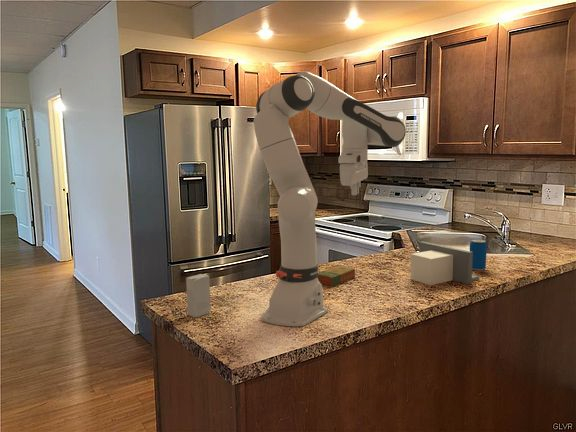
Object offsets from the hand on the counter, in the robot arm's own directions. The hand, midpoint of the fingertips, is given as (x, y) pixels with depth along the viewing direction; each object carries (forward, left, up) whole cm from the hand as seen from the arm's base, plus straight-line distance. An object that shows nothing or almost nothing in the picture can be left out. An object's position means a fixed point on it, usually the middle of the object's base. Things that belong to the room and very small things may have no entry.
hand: (355, 194), depth 167 cm
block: (+18, -25, -34) cm, 46 cm away
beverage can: (+41, -41, -34) cm, 67 cm away
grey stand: (+27, -31, -34) cm, 53 cm away
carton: (+4, +9, -34) cm, 36 cm away
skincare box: (-47, +36, -34) cm, 68 cm away
